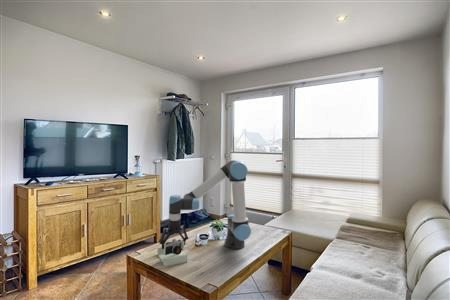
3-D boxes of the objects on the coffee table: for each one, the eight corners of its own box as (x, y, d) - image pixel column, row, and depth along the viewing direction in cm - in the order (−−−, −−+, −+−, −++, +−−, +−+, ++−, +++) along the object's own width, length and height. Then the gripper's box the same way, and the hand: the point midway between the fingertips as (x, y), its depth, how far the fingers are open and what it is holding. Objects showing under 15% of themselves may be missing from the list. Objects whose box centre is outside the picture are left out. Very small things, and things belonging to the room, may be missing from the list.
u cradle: (177, 250, 169) (177, 243, 169) (187, 262, 153) (187, 254, 153) (157, 254, 162) (157, 247, 162) (165, 267, 146) (165, 258, 146)
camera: (169, 258, 151) (171, 243, 151) (162, 253, 156) (164, 239, 156) (185, 254, 160) (187, 240, 161) (178, 250, 165) (180, 237, 166)
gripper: (189, 215, 167) (188, 246, 167) (154, 219, 155) (153, 253, 155) (193, 218, 160) (192, 250, 161) (157, 223, 148) (156, 258, 149)
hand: (173, 252), depth 158 cm, fingers closed on camera, 12 cm apart
